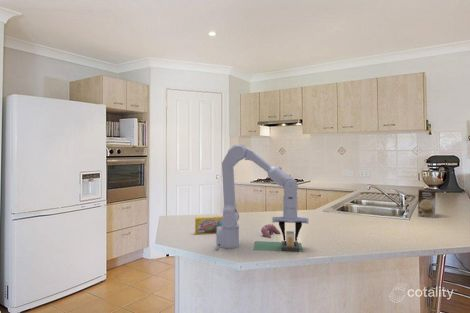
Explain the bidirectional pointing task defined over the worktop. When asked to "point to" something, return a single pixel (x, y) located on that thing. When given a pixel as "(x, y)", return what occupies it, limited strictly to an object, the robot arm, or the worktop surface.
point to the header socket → (290, 249)
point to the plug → (289, 238)
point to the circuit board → (271, 246)
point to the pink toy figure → (270, 228)
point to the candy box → (207, 225)
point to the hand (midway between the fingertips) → (290, 240)
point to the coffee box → (426, 203)
